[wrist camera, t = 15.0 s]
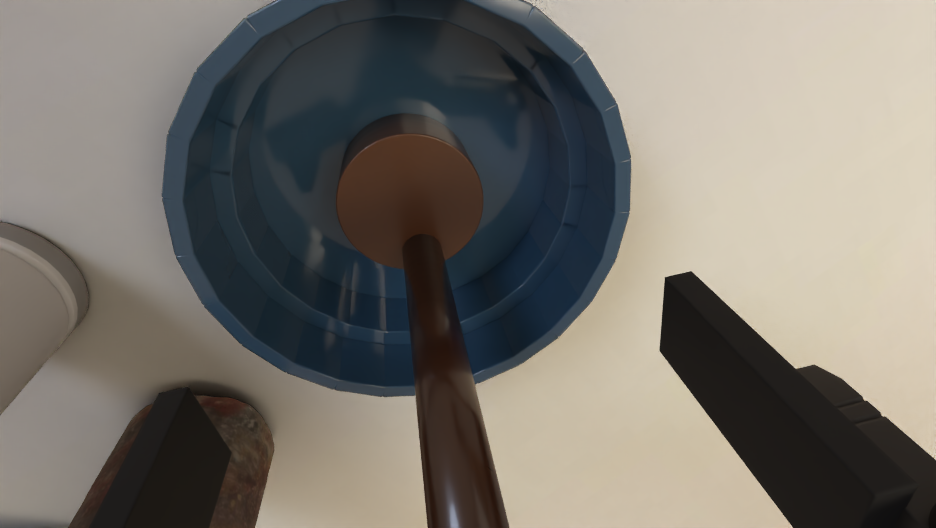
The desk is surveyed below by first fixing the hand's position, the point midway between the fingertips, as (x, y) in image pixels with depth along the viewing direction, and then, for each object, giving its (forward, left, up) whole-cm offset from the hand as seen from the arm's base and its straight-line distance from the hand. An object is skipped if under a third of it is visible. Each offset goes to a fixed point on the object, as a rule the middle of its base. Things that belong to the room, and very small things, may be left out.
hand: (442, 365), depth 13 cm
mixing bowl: (-2, 0, -10) cm, 11 cm away
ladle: (-2, 0, -10) cm, 10 cm away
